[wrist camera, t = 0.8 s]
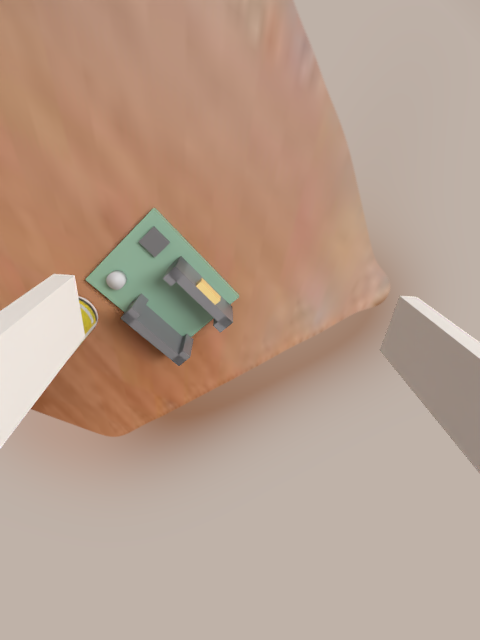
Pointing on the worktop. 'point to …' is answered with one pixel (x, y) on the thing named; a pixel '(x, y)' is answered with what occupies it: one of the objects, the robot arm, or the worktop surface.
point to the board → (157, 274)
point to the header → (161, 331)
